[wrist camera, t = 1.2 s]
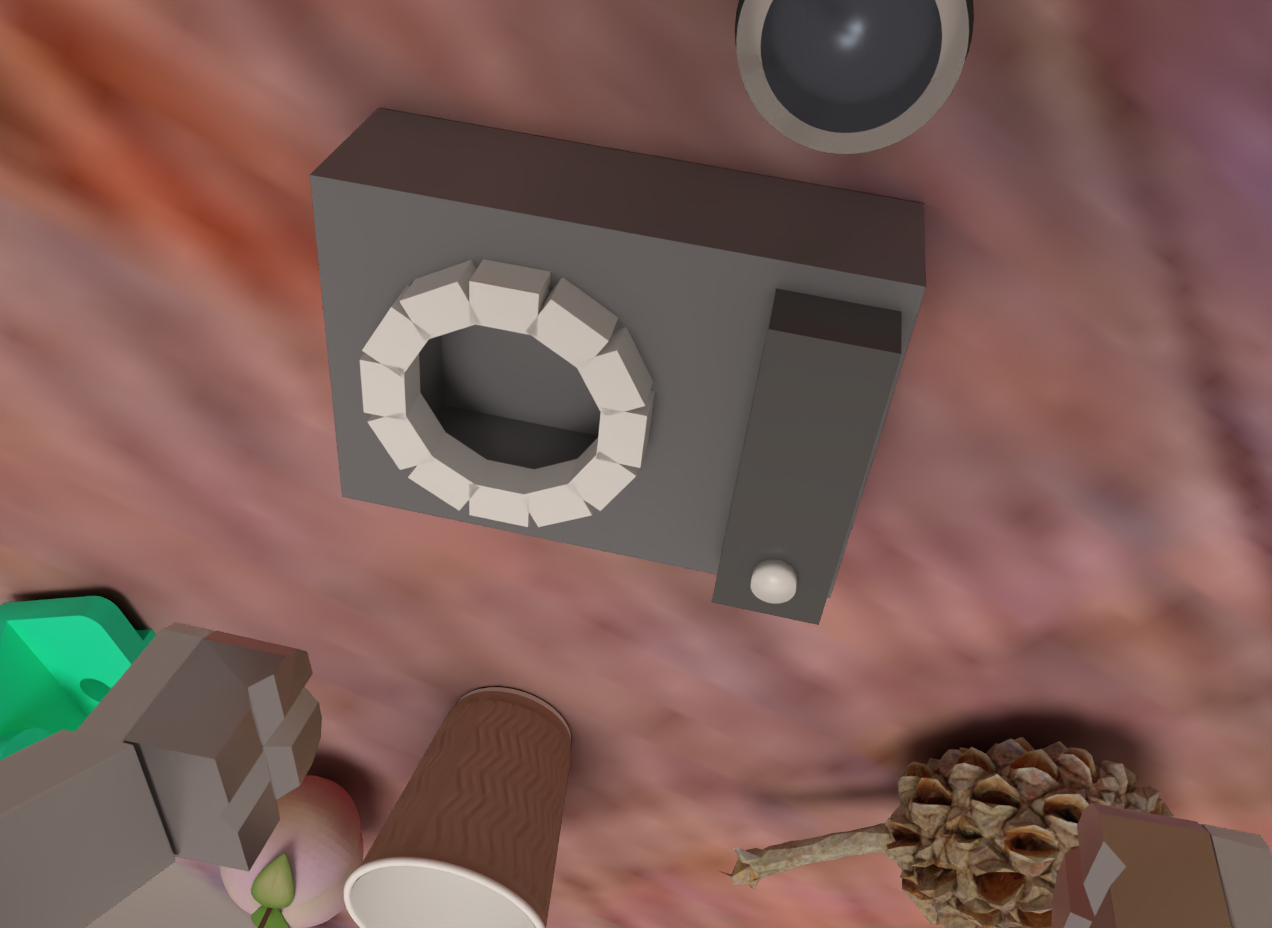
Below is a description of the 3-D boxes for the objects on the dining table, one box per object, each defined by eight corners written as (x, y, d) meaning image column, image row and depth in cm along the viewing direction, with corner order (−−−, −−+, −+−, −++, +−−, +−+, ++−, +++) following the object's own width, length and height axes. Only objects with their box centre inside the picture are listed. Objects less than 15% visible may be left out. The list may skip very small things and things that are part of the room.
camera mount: (223, 720, 67) (132, 869, 59) (125, 723, 70) (25, 867, 62) (119, 580, 61) (1, 728, 53) (15, 589, 63) (-113, 731, 55)
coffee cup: (469, 784, 66) (398, 977, 57) (395, 671, 60) (304, 864, 51) (625, 778, 63) (577, 982, 53) (563, 657, 57) (497, 861, 48)
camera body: (378, 107, 40) (266, 216, 33) (923, 203, 38) (927, 339, 31) (395, 411, 49) (310, 547, 42) (837, 499, 47) (825, 657, 40)
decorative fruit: (255, 722, 66) (170, 869, 59) (383, 750, 66) (313, 903, 58) (274, 809, 72) (200, 953, 65) (392, 835, 72) (330, 984, 64)
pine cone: (1126, 666, 50) (1166, 860, 42) (1181, 790, 54) (1226, 986, 47) (706, 751, 60) (677, 920, 52) (782, 850, 64) (766, 1019, 56)
